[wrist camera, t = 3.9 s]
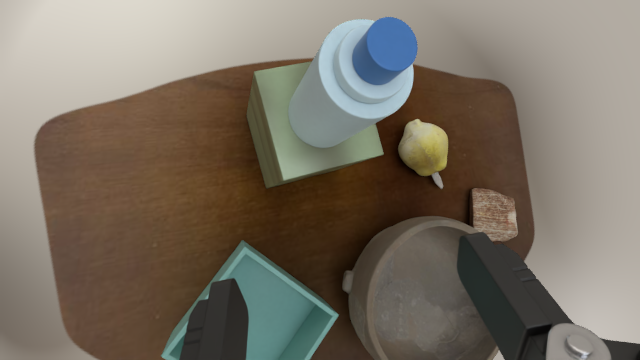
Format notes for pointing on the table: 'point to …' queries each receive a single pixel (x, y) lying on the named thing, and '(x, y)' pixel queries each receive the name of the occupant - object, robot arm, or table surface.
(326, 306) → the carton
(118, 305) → the table surface
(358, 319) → the bowl
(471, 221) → the stone
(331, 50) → the bottle
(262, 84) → the stand
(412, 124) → the fruit
